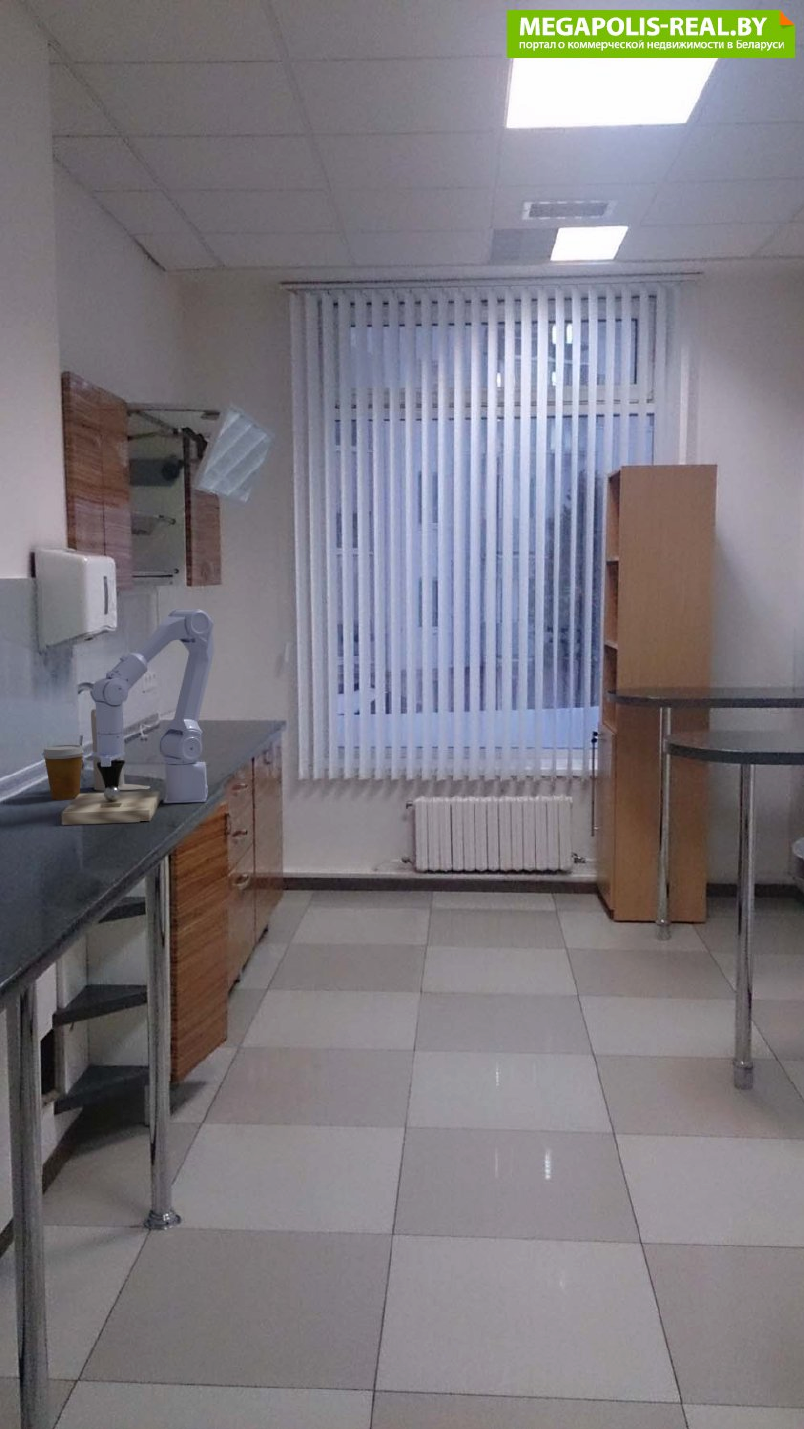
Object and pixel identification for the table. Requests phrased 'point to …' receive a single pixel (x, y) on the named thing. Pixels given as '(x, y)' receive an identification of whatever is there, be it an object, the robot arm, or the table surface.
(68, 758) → the disposable coffee cup
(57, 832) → the table surface
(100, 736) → the robot arm
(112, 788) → the steel ball
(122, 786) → the beige bookend
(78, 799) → the birch plate
